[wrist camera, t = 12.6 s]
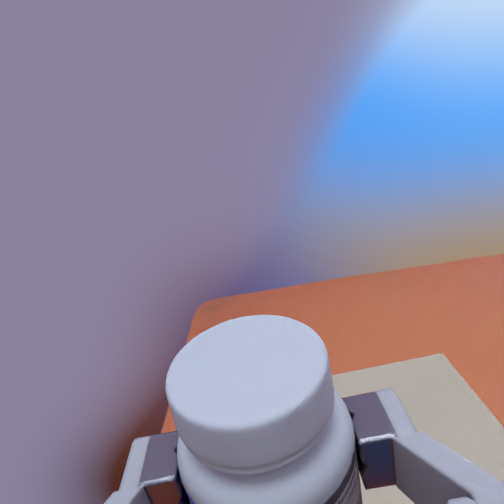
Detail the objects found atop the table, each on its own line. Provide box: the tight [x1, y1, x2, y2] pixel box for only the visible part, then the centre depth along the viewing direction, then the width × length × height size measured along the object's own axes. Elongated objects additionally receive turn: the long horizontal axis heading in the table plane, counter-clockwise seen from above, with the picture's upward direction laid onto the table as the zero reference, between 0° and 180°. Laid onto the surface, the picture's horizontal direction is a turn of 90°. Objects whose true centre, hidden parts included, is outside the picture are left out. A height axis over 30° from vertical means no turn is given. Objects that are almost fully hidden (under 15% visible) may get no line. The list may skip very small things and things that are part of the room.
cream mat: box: [332, 353, 504, 504], centre depth 29 cm, size 20×14×1 cm
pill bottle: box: [166, 315, 363, 504], centre depth 11 cm, size 5×5×8 cm
